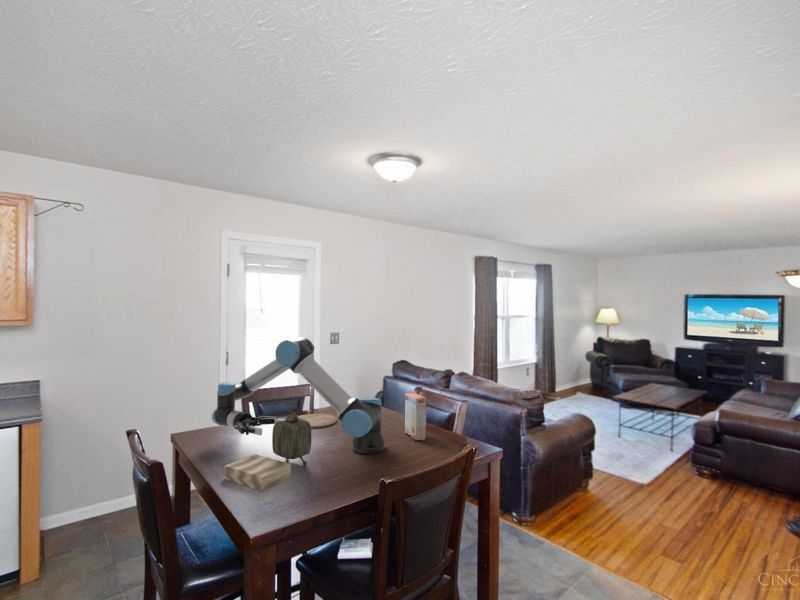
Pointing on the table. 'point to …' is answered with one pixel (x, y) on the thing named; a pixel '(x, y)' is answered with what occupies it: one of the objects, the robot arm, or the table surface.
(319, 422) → the trivet
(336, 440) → the table surface
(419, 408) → the cracker box
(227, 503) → the table surface
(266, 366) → the robot arm
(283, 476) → the maple base
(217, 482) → the table surface
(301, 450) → the tabletop clock
